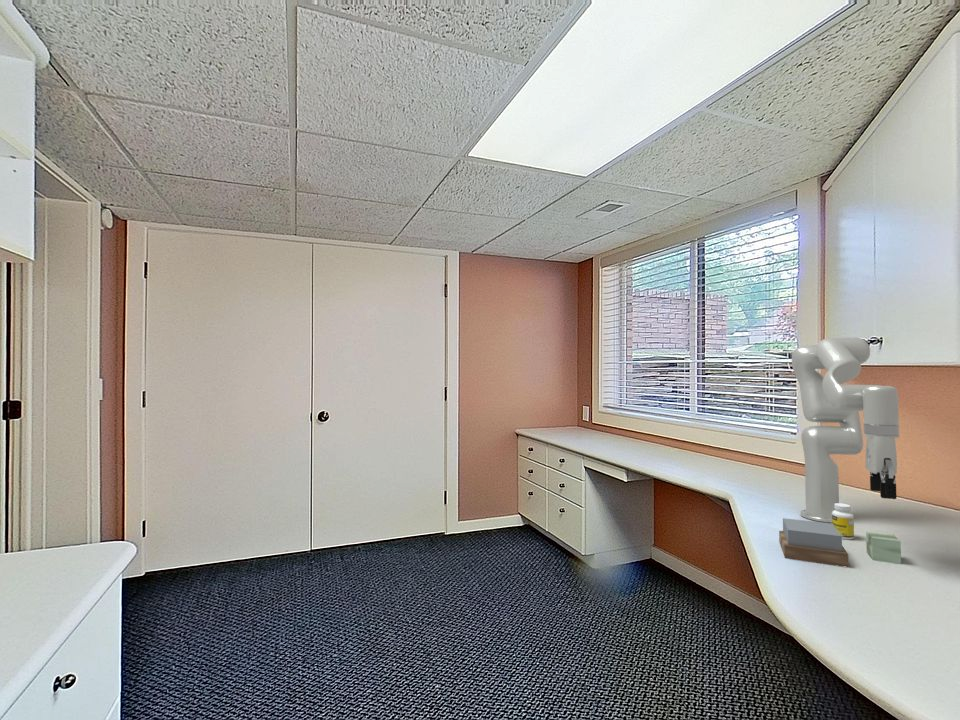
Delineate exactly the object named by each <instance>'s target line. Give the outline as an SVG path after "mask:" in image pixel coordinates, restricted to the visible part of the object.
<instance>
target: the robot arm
mask: <svg viewBox="0 0 960 720" xmlns="http://www.w3.org/2000/svg"><path fill="white" fill-rule="evenodd" d="M870 355H871V347H870V345H869V344H868V342H867V341H866V340H865V339H863V338H860V337H827V338H824V339H822V340H820V341H817V343H816V344H810V345H807V344H806V345H802V346H801V345H800V346H799V347H796V348H795V349H794V350H793V351H792V355H791V366H792V370H793V373H794V376H795V378H796V379H797V382H798V385H799V390H800V391H799V393H800V399H801V407H802V412H803V416H804V419H806V421H808V422H811V423H827V424H830V423H831V424H839V425H840V426H833V425H813V426H812V425H811V426H808V427H805V428H804V429H803V430H802V432H801V435H800V438H801V439H800V440H801V444H802V445H801V446H802V449H803V456H804V477H805V479H804V481H805V482H804V483H805V487H804V488H805V489H804V490H805V509H802V510H800V516H802V517H803V518H804V519H808V520H810V521H814V522H823V523H832V512H833V511H834V510H835V508H834V504H835V503H840V494H839V493H840V492H839V490H840V489H839V488H840V487H839V486H840V485H839V484H840V482H839V479H840V478H839V468H838V464H837V463H836V462H835V461H834V460H833V458H832V457H831V456H830V455H848V456H849V455H850V456H851V455H853V456H854V455H858V454H860V453H861V452H862V451H863V448H864V438H863V437H866V439H865V440H866V441H865V442H866V443H865V463H864V464H865V469H866V470H867V471H869V475H870V476H869V489H870V491H874V492H880V498H881V499H888V500H896V499H897V479H896V477H897V476H896V475H897V472H898V460H897V459H898V458H897V457H898V456H897V444H896V439H899V438H900V418H899V417H900V416H899V415H900V414H899V393H898V392H899V391H898V389H897V388H896V387H895V386H892V385H879V384H845V383H847V382H850V381H852V380H854V379H856V378H857V377H858V376H859V375H860V374H861V371H862V365H861V364H864V363H866V362H867V361H868V360H869V359H870ZM817 370H826V373H825V374H824V376H823V374H821V373H820V372H819V371H817ZM860 412H862V418H863V419H862V420H863V423H862V424H863V431H862V424H861V417H860Z"/></svg>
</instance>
